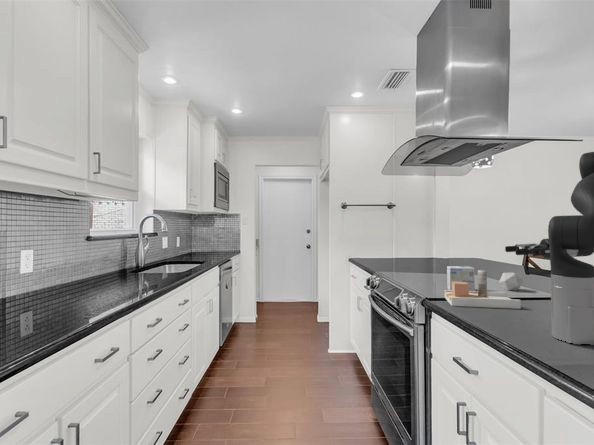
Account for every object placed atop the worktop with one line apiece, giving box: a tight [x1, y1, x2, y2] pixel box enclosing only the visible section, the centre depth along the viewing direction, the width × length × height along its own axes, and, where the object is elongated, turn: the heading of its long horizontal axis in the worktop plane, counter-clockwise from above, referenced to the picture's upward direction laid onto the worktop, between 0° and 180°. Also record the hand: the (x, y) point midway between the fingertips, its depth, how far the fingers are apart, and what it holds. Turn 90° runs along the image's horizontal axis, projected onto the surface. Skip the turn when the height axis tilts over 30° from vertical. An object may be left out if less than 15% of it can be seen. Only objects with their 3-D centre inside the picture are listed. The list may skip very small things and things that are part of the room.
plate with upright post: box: [444, 269, 489, 300], centre depth 129 cm, size 11×14×11 cm
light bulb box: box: [446, 265, 476, 291], centre depth 151 cm, size 11×7×11 cm, turn 78°
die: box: [498, 272, 524, 292], centre depth 150 cm, size 8×9×10 cm
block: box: [452, 281, 469, 297], centre depth 130 cm, size 5×5×5 cm
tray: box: [444, 289, 522, 310], centre depth 128 cm, size 14×23×3 cm, turn 76°
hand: (510, 250), depth 125 cm, fingers open, 8 cm apart
